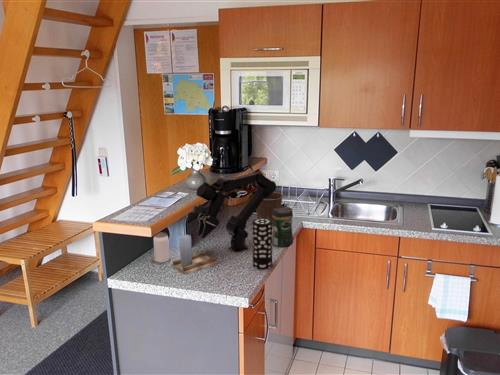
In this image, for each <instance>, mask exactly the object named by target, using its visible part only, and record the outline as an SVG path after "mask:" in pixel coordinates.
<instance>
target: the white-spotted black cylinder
mask: <svg viewBox="0 0 500 375" xmlns="http://www.w3.org/2000/svg"><path fill="white" fill-rule="evenodd" d="M251 223H252V267H253V268H254V269H257V270H260V271H261V270H262V271H264V270H269V269H271V268H272V267H273V226H272V220H270V219H266V218H259V219H257V218H255V219H253V220H252V222H251Z"/></svg>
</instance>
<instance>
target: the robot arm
mask: <svg viewBox="0 0 500 375" xmlns="http://www.w3.org/2000/svg"><path fill="white" fill-rule="evenodd" d="M252 183H255V184H256V185H257V186H256V191H255V193H254V194H253V196H251V199H249V201H248V202H247V203H246V204H245V206H244V208H242V209H241V211H240V213H239V214H237V215H236V216H235V215H232V216H231V217H230V218H229V219H228V220H227V221H226V225H225V229H226V231H227V233H228V235H229V236H231V237H230V246H229V247H228V248H229V249H230V250H233V251H234V252H236V253H237V252H242V251H244V250H247V249H248V246H246V244H247V243H246V239H247V238H248V237H249V232H248V231H246V230H245V229H246V227H247V222H248V221H249V219H250V217H252V215H253V214H254V212H255V211H257V210H256V209H257V207H258V206H259V205H260V204H261V202H262V201H263V200H264V199H265V198H266V197H268V196H270V195H271V194H272V193H273V192H276V190H277V184H276V182H275V181H273V180H270V179H269V178H267V177H266V176H264V174H262V173H261V172H258V171H253V172H251V173H248V174H243V175H239V176H236V177H235V176H234V177H220V178H218V179H217V180H216V181H215V182H213V183H211V184H210V183H207V182H205V181H204V182H203V183H202V184H201V185H199V187H198V188H196V189H197V190H196V196H197V197H199V198H201V199H202V200H205V201H207V202H208V203H207V204H206V205H205V206H204V204H198V205H193V207H192V213H193V214H198V216H197V220H198V222H199V226H198V231H197V236H201V238H202V239H205V238H206V237H207V236H208V235H209V234H211V232H213V231H214V230H216V229H217V227H219V226H220V220H219V219H218V215H219V212H220V213H221V211H222V209H221V208H222V207H223V204H224V202H225V200H230V196H229V193H230V192H232V191H235V190H236V189H237V188H239V187H241V186H245V185H249V184H252Z"/></svg>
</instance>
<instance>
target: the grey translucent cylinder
mask: <svg viewBox="0 0 500 375" xmlns="http://www.w3.org/2000/svg"><path fill="white" fill-rule="evenodd" d="M179 252H180V259H181V267H185V266H188V265H192V255H193V252H192V236H191V235H190V234H182V235H180V236H179Z"/></svg>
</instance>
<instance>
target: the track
mask: <svg viewBox="0 0 500 375" xmlns="http://www.w3.org/2000/svg"><path fill="white" fill-rule="evenodd" d="M217 264H218V261H217V257H215V256H214V257H209V256H208V255H206V252H205V251H202V252H199V253H195V254H192V265H188V266H185V267H181V258H178V259H176V260H173V261H172V264H171V267H173V268H174V269H175V270H177V271H179V272H181V273H182V274H184V275H188V274H191V273H194V272H198V271H200V270H203V269H206V268H209V267H213V266H214V265H217Z"/></svg>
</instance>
